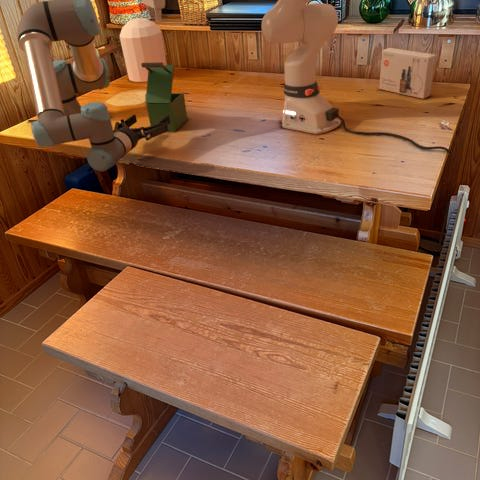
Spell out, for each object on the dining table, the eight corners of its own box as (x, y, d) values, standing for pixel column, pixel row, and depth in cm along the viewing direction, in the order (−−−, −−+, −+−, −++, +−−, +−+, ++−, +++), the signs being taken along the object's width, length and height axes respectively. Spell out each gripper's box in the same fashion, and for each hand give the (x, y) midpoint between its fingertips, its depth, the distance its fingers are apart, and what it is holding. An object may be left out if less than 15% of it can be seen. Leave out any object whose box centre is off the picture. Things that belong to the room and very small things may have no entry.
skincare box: (377, 89, 194) (381, 50, 185) (385, 86, 197) (389, 47, 188) (423, 99, 180) (429, 56, 171) (430, 95, 183) (437, 53, 174)
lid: (150, 66, 171) (139, 57, 164) (174, 65, 169) (164, 56, 161) (146, 103, 171) (135, 96, 164) (170, 103, 169) (160, 96, 161)
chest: (165, 118, 187) (160, 93, 182) (187, 118, 185) (183, 93, 179) (151, 131, 177) (146, 104, 171) (174, 131, 174) (170, 104, 169)
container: (160, 81, 233) (149, 21, 217) (121, 82, 238) (108, 23, 222) (174, 69, 249) (165, 13, 233) (138, 70, 254) (126, 15, 238)
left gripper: (92, 150, 156) (124, 127, 173) (158, 154, 149) (184, 129, 165) (86, 129, 152) (119, 107, 168) (154, 132, 145) (181, 109, 161)
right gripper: (132, -26, 162) (140, 18, 169) (145, -22, 146) (153, 25, 154) (149, -28, 163) (157, 15, 171) (165, -25, 147) (172, 22, 155)
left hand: (152, 118), depth 167 cm, fingers open, 13 cm apart
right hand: (155, 20), depth 162 cm, fingers open, 8 cm apart
